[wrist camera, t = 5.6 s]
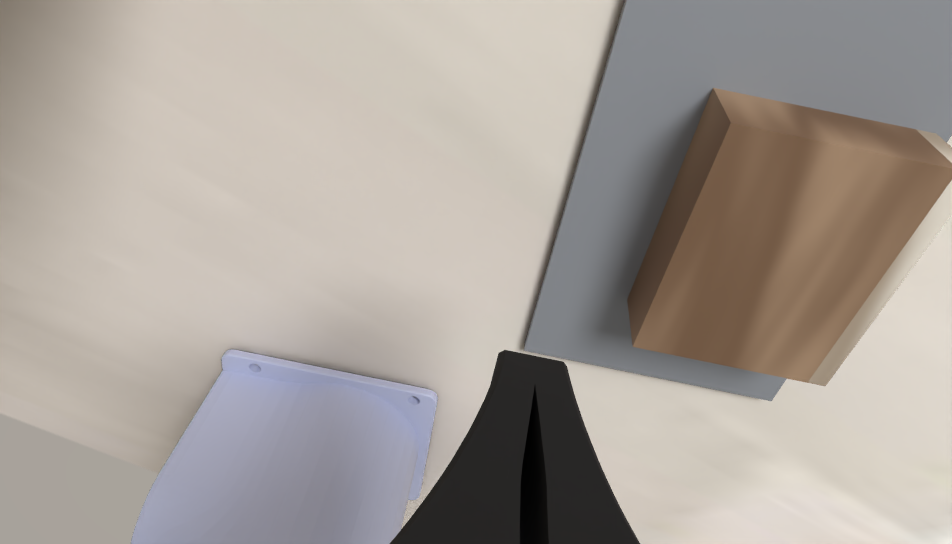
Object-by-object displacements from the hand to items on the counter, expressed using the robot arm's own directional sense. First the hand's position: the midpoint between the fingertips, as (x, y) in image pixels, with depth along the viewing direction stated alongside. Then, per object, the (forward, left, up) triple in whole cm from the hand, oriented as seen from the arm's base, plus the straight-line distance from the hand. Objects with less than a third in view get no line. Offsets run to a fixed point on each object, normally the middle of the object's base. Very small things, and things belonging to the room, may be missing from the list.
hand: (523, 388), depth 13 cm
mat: (+6, 0, -9) cm, 11 cm away
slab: (+4, 0, -8) cm, 9 cm away
